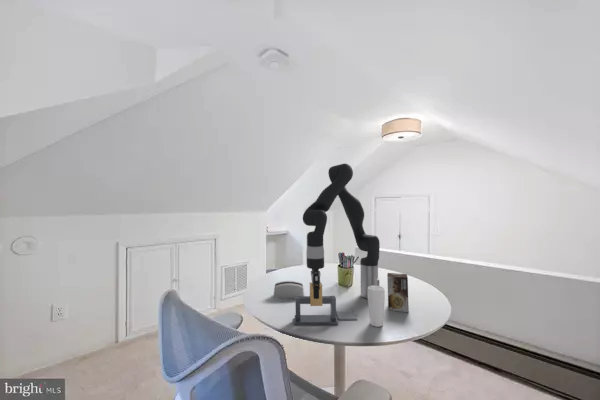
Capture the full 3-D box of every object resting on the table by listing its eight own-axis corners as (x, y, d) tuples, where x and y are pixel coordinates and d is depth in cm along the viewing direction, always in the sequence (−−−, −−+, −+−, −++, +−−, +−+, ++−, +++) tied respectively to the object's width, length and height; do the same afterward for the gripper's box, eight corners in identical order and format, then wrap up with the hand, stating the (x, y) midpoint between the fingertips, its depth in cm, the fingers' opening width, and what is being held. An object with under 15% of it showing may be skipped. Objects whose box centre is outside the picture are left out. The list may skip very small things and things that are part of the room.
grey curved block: (304, 294, 143) (304, 279, 140) (304, 300, 138) (304, 284, 135) (274, 294, 143) (273, 279, 140) (273, 300, 138) (272, 284, 135)
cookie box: (407, 307, 124) (407, 273, 124) (408, 312, 118) (408, 277, 118) (387, 305, 127) (387, 272, 127) (387, 310, 121) (387, 275, 121)
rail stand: (335, 317, 113) (335, 294, 113) (337, 325, 106) (337, 300, 106) (294, 317, 113) (294, 294, 113) (294, 325, 106) (294, 300, 106)
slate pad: (353, 312, 118) (353, 311, 118) (357, 320, 110) (357, 318, 110) (336, 312, 118) (336, 311, 118) (338, 320, 110) (338, 318, 110)
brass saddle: (321, 301, 112) (321, 282, 112) (322, 305, 107) (322, 286, 107) (309, 301, 112) (309, 282, 112) (310, 306, 107) (310, 286, 107)
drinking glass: (365, 321, 109) (365, 285, 110) (381, 320, 110) (380, 285, 110) (371, 328, 102) (370, 290, 103) (387, 327, 103) (387, 290, 103)
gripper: (325, 259, 103) (326, 302, 102) (322, 252, 117) (323, 290, 117) (307, 259, 103) (307, 302, 102) (306, 253, 117) (306, 290, 117)
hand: (315, 295), depth 110 cm, fingers closed on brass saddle, 5 cm apart
